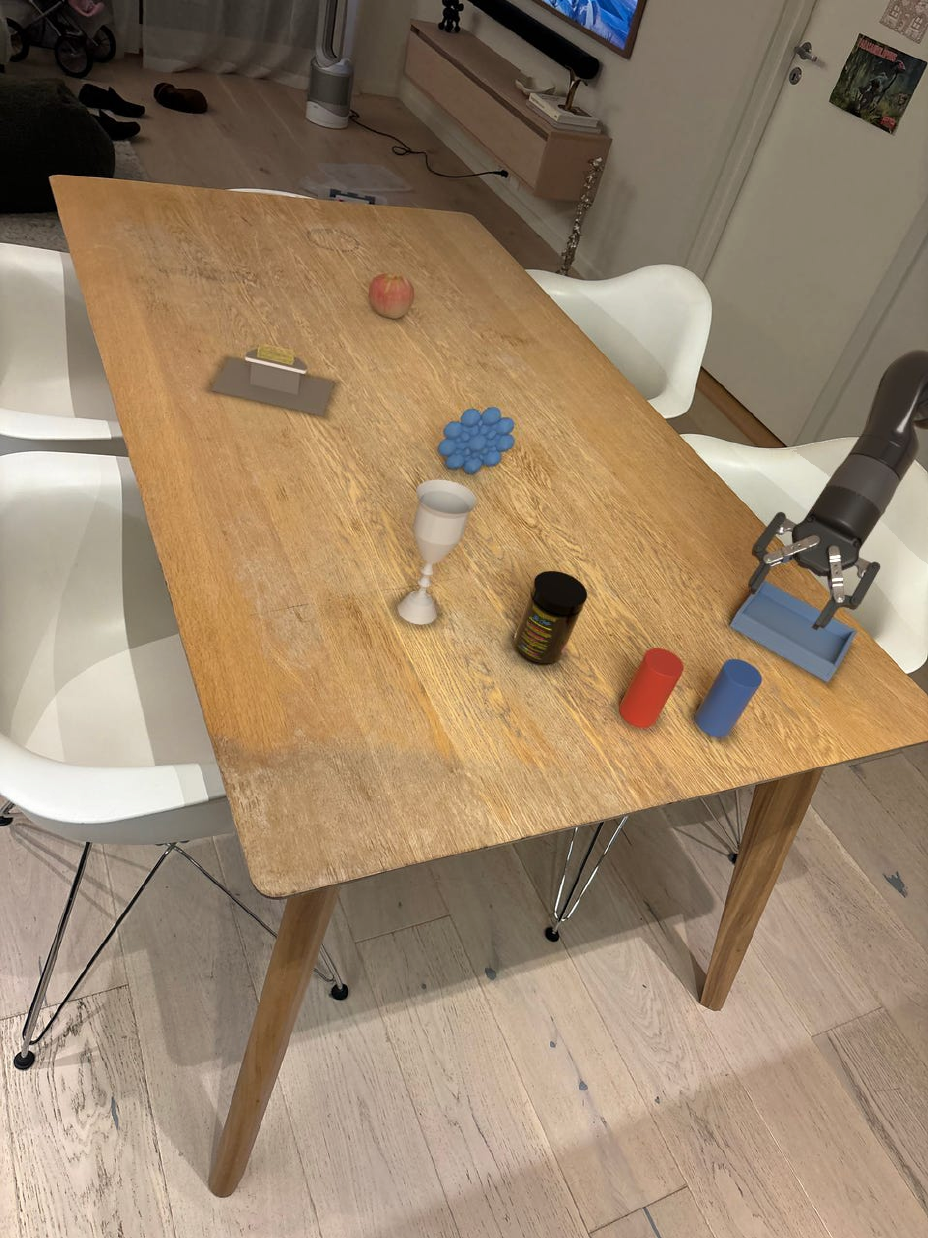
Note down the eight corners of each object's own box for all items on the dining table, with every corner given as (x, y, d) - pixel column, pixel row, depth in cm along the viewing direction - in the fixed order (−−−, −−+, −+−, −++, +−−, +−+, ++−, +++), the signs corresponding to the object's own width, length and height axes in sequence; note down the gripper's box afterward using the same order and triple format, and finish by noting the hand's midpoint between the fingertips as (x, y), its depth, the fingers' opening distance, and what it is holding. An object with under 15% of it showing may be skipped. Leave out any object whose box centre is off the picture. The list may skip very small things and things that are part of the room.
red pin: (662, 713, 114) (690, 662, 108) (646, 734, 111) (674, 682, 105) (629, 693, 115) (654, 641, 110) (612, 712, 112) (638, 660, 106)
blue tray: (848, 645, 134) (857, 631, 132) (827, 682, 126) (837, 668, 125) (754, 592, 139) (762, 578, 137) (729, 626, 131) (737, 611, 129)
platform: (229, 358, 156) (232, 321, 152) (334, 382, 158) (339, 347, 154) (211, 390, 147) (213, 352, 142) (322, 416, 149) (327, 379, 144)
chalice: (397, 630, 114) (425, 514, 103) (383, 594, 119) (409, 479, 107) (451, 627, 117) (485, 513, 105) (436, 592, 122) (466, 479, 110)
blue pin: (736, 723, 116) (767, 673, 110) (723, 743, 112) (754, 693, 107) (702, 702, 117) (731, 652, 112) (688, 722, 114) (717, 672, 108)
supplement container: (559, 675, 115) (585, 613, 108) (507, 659, 115) (530, 596, 108) (564, 641, 120) (589, 580, 114) (515, 626, 120) (537, 564, 114)
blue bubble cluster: (500, 463, 150) (519, 398, 143) (505, 486, 145) (525, 420, 138) (430, 453, 148) (446, 386, 140) (433, 476, 143) (450, 408, 135)
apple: (397, 328, 180) (405, 289, 174) (357, 312, 181) (364, 273, 176) (416, 316, 186) (424, 277, 181) (378, 300, 188) (384, 261, 182)
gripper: (804, 463, 112) (732, 573, 111) (915, 519, 108) (841, 634, 107) (797, 484, 119) (729, 588, 118) (901, 537, 115) (832, 645, 114)
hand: (783, 610), depth 113 cm, fingers open, 8 cm apart
